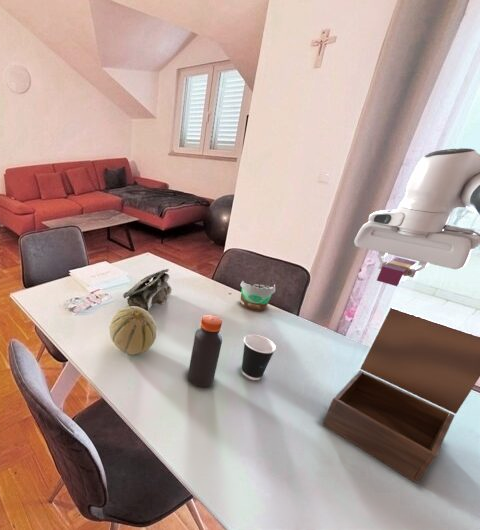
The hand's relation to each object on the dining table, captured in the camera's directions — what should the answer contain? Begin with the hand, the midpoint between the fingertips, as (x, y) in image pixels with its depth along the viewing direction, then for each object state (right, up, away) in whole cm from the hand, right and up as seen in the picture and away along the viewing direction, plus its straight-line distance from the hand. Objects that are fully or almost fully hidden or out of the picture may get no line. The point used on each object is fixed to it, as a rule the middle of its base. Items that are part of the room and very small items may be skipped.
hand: (395, 272), depth 81 cm
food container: (-13, -15, +43) cm, 47 cm away
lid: (-4, -19, -10) cm, 22 cm away
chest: (-12, -37, -8) cm, 40 cm away
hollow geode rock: (-54, -14, +47) cm, 73 cm away
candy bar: (0, -1, +1) cm, 2 cm away
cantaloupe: (-65, -25, +20) cm, 73 cm away
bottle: (-48, -31, +8) cm, 57 cm away
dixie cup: (-32, -30, +10) cm, 45 cm away
